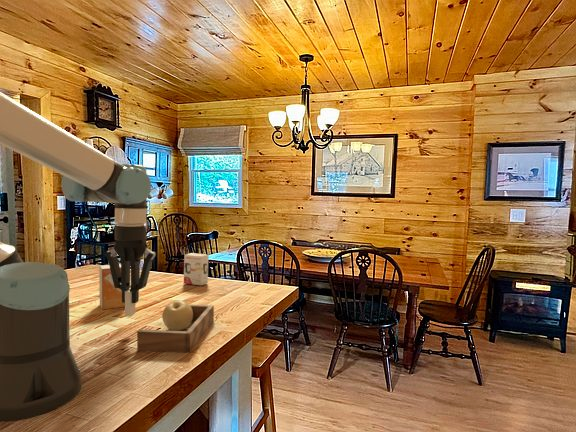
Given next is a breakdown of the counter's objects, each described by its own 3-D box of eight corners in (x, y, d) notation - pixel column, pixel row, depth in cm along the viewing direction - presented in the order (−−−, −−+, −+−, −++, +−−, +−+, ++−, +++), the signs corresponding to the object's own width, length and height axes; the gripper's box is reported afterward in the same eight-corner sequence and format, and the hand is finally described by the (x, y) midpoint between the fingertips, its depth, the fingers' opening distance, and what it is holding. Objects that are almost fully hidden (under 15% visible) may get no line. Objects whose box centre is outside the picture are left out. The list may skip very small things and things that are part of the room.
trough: (190, 352, 86) (189, 333, 85) (137, 350, 86) (137, 331, 86) (213, 320, 107) (213, 305, 106) (171, 319, 107) (171, 303, 107)
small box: (102, 310, 114) (101, 268, 113) (99, 305, 119) (98, 265, 119) (130, 306, 119) (129, 266, 118) (126, 301, 124) (125, 262, 123)
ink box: (183, 283, 148) (182, 254, 147) (190, 281, 153) (190, 252, 152) (201, 286, 145) (201, 256, 144) (208, 283, 150) (208, 254, 149)
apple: (159, 327, 101) (159, 299, 100) (188, 322, 105) (188, 295, 105) (166, 337, 94) (166, 307, 94) (197, 331, 98) (197, 303, 98)
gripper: (161, 224, 99) (160, 311, 100) (114, 223, 99) (113, 309, 101) (149, 226, 91) (148, 320, 92) (98, 225, 92) (97, 318, 93)
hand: (130, 314), depth 96 cm, fingers closed
